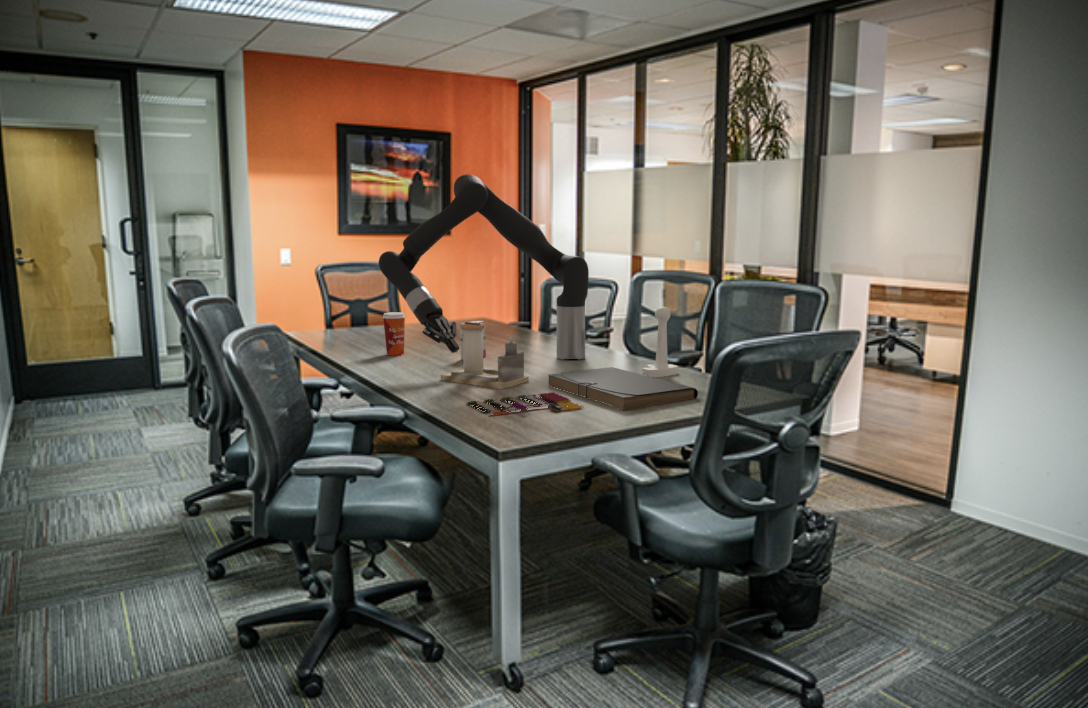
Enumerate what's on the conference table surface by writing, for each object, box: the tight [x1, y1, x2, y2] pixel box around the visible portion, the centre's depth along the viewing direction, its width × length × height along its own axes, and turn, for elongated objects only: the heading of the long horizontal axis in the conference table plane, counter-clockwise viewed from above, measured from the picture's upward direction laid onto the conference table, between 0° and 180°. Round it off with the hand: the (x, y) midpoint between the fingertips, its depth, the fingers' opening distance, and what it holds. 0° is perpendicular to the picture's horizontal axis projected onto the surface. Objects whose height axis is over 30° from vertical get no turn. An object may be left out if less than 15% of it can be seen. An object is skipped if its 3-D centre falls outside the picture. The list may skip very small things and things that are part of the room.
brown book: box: [547, 366, 699, 412], centre depth 200 cm, size 33×4×24 cm
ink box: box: [459, 320, 487, 360], centre depth 249 cm, size 9×5×12 cm, turn 154°
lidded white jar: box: [460, 321, 484, 375], centre depth 215 cm, size 7×7×14 cm
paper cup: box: [382, 311, 406, 356], centre depth 256 cm, size 8×8×14 cm
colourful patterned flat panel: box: [465, 391, 583, 417], centre depth 184 cm, size 25×18×3 cm
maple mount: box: [440, 351, 530, 390], centre depth 214 cm, size 22×12×8 cm, turn 55°
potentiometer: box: [504, 335, 518, 355], centre depth 207 cm, size 3×3×5 cm
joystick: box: [641, 306, 679, 378], centre depth 221 cm, size 11×8×20 cm
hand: (456, 350), depth 219 cm, fingers closed
